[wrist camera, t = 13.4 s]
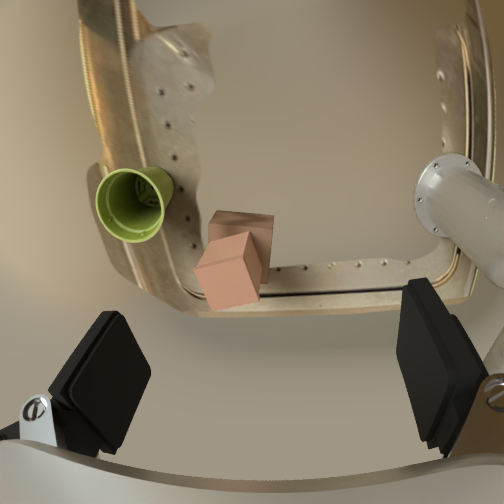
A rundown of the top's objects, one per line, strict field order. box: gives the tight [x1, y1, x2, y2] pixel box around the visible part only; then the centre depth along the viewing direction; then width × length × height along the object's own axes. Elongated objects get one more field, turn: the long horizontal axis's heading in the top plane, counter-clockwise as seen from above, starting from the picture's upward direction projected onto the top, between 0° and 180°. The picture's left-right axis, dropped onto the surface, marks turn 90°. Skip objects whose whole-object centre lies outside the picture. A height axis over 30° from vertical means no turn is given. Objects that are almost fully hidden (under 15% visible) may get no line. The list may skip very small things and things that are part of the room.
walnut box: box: [209, 210, 274, 284], centre depth 43 cm, size 8×8×5 cm
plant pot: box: [96, 167, 174, 243], centre depth 39 cm, size 9×9×9 cm
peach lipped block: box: [193, 231, 262, 311], centre depth 38 cm, size 6×6×7 cm
